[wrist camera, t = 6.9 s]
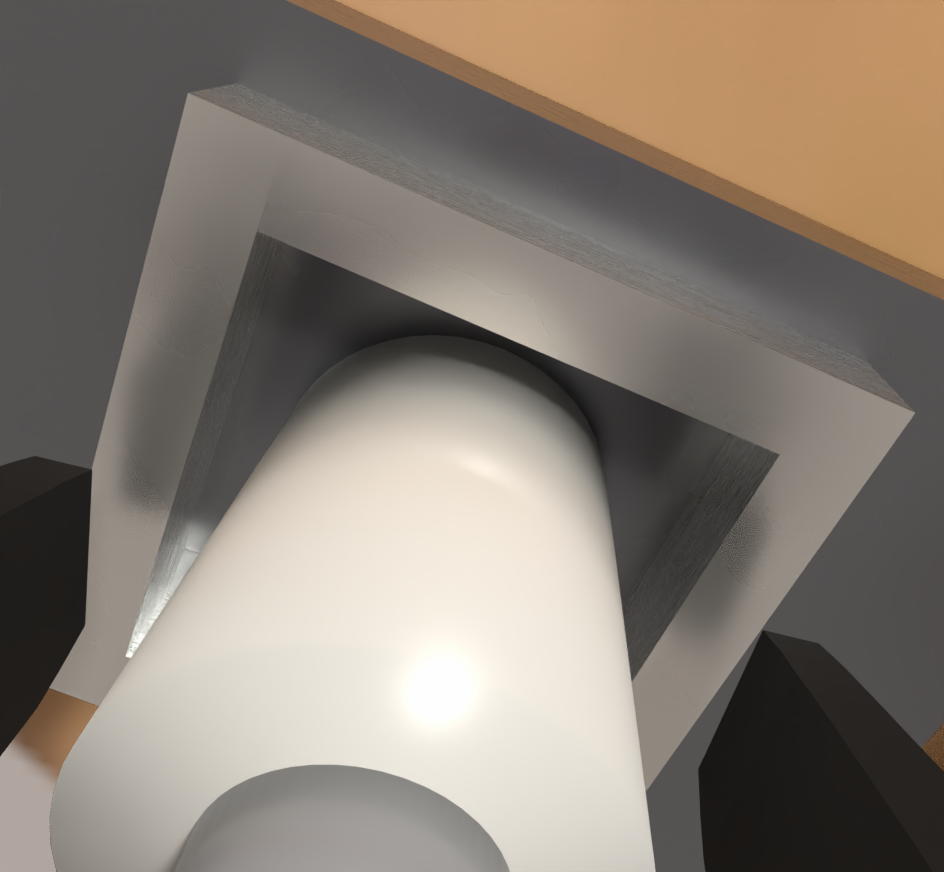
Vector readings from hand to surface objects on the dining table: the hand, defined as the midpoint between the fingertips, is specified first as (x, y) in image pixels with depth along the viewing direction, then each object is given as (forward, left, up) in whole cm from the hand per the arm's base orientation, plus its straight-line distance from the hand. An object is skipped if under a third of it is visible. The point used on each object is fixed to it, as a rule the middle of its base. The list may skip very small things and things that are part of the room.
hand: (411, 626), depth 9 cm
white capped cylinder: (0, 0, -3) cm, 3 cm away
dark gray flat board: (0, 0, -6) cm, 6 cm away
